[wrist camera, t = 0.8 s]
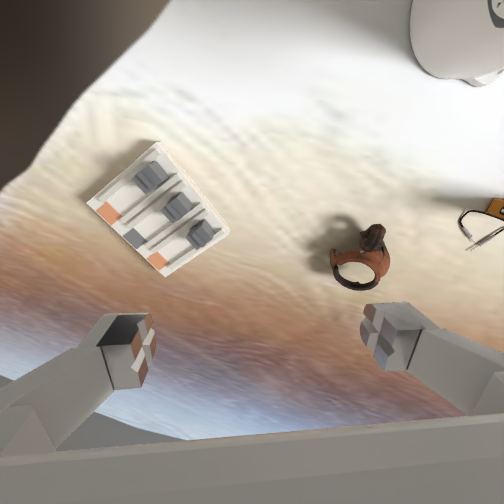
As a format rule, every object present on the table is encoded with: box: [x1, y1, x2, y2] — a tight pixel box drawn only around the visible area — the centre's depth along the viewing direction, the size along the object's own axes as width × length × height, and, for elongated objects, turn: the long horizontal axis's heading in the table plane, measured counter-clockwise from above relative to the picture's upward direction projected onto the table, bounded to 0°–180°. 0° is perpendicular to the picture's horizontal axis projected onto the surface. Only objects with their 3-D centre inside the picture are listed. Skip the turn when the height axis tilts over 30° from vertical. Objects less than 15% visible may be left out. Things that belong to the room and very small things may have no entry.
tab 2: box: [186, 219, 215, 250], centre depth 34 cm, size 3×2×4 cm
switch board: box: [87, 142, 230, 277], centre depth 36 cm, size 14×16×3 cm
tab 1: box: [132, 162, 170, 195], centre depth 30 cm, size 3×2×4 cm
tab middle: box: [160, 192, 193, 224], centre depth 32 cm, size 3×2×4 cm
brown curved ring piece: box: [330, 224, 390, 291], centre depth 39 cm, size 12×10×8 cm
